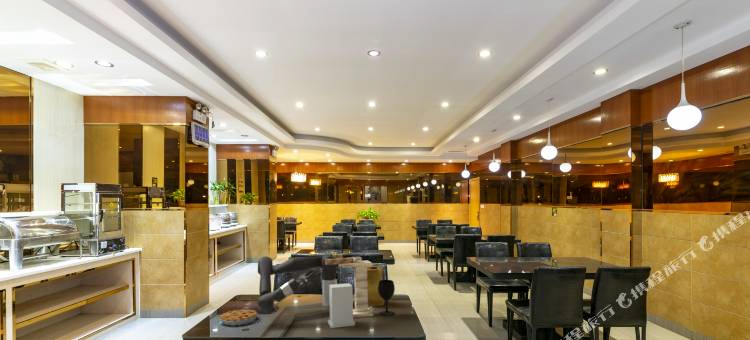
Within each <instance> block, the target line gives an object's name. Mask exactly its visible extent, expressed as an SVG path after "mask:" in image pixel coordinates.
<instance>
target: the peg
mask: <svg viewBox="0 0 750 340" xmlns="http://www.w3.org/2000/svg"><path fill="white" fill-rule="evenodd" d="M362 259H363V258H362V257H361V256H351V257H340V258H338V257H337V258H335V259H325V264H326V265H333V264H337V265H340V264H347V263H362V261H363V260H362Z"/></svg>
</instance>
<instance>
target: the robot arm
mask: <svg viewBox="0 0 750 340" xmlns="http://www.w3.org/2000/svg"><path fill="white" fill-rule="evenodd" d="M325 259H336V258H335V257H334V256H333V255H331V254H324V255H319V256H300V257H299V256H297V257H291V258H289V259H287V260H285V261H284V262H281V263H279V264H274V262H273V260H272V258H271V257H269V256H262V257H260V258H259V259H258V261H257V274H259V275H260V278H259V286H258V287H259V290H258V291H259V298H258V299H257V305H258V306H259V308H260V310H261V311H262V312H263V313H266V314H268V313H271V312H272V310H273V308H274V304H275V303H274V301H276V302H277V303H280V302H282V301H283V300H285V299H286V298H287V297H290V296H291V295H293V294H294V293H296V292H298V291H299V290H300V289H301V288H300V287H302V286H304V285H305V284H307V283H308V282H310V280H311V279H312V278H314V277H315V276H316V274H315V272H314V271H313V269H315V268H319V269H320V268H321V269H322V268H323V269H322V270H323V271H322V272H323V273H322V275H321V277H322V278H321V279H322V282H321V283H322V289H321V290H322V306H323V307H330V300H329V285H334V284H337V273H338V272H337V271H338V270H337V269H338V266H337V265H338V264H333V265H326V264H325ZM307 270H309V271H307ZM304 271H307V272H304ZM295 272H297V273H298V272H303V273H302V274H301V275H300V276H298V277H296V278H294V277H293V278H290V280H288V281H287V282H285V283H283V284H282V285H281V286H280V287H278V288H276V289H275V290H273V291H272V279H271V277H272V276H273V275H279V274H284V273H285V274H286V273H295Z"/></svg>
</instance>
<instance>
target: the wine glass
mask: <svg viewBox="0 0 750 340" xmlns="http://www.w3.org/2000/svg"><path fill="white" fill-rule="evenodd" d="M395 289H396V288H395V283H394V281H393V280H391V279H383V280H380V281H379V284H378V293H379V295H380V296H381V298H383V299H384V301H385V302H384V303H385V310H381V311H379V312H378V315H379V316H382V317H391V316H395V315H396V312H395V311H392V310H389V309H388V301H389V300H391V299H392V297H393V296H394V294H395V291H396V290H395Z"/></svg>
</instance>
